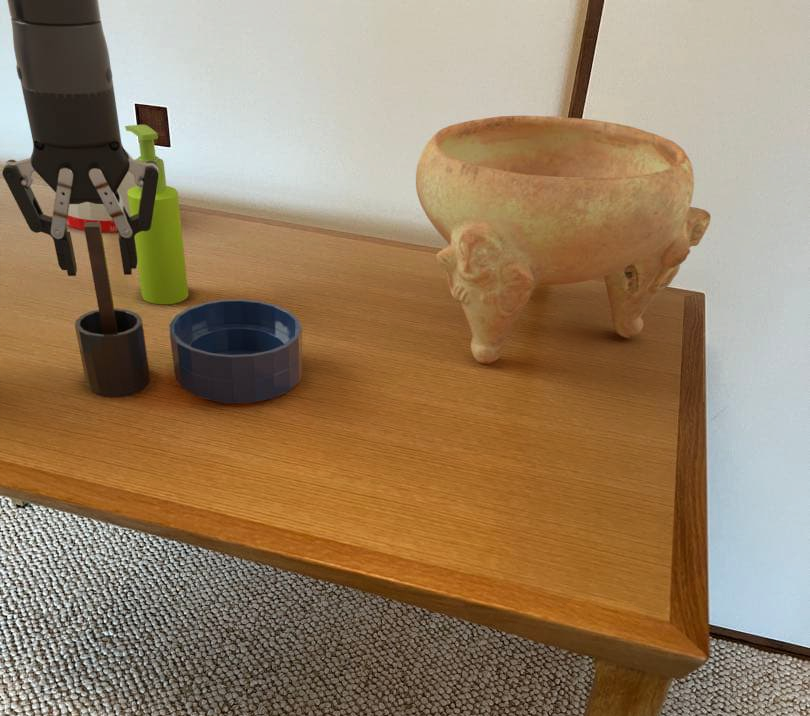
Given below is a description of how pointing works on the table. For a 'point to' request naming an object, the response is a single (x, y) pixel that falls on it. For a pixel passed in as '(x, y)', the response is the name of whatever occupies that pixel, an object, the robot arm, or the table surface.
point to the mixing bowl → (236, 350)
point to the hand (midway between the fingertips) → (100, 271)
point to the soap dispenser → (159, 233)
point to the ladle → (101, 277)
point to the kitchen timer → (99, 209)
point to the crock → (113, 354)
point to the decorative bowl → (556, 215)
